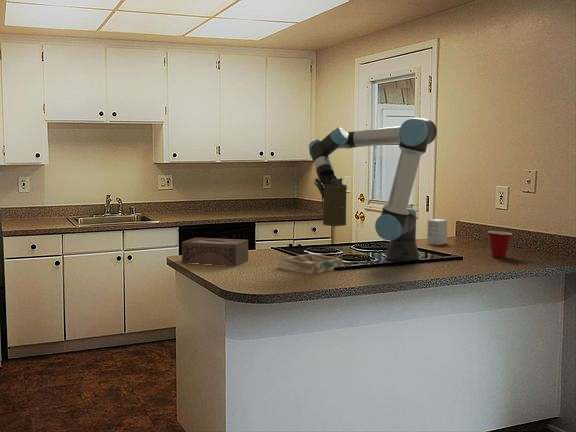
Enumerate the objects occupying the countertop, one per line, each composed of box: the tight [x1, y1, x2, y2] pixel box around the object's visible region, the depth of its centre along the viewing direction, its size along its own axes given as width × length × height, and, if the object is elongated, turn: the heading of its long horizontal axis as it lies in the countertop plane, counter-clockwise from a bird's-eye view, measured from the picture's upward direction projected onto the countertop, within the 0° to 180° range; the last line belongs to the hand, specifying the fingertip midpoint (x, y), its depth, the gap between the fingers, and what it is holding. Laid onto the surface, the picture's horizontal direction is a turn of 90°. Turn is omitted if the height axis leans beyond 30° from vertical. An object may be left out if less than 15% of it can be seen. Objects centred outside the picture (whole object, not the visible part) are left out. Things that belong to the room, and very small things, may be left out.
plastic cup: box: [487, 230, 513, 259], centre depth 324 cm, size 11×11×12 cm
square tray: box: [277, 253, 345, 275], centre depth 298 cm, size 20×20×4 cm
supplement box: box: [426, 218, 448, 246], centre depth 365 cm, size 7×7×13 cm
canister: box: [321, 178, 348, 227], centre depth 306 cm, size 11×10×20 cm
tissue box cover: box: [181, 237, 249, 267], centre depth 311 cm, size 26×14×10 cm, turn 72°
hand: (338, 209), depth 303 cm, fingers closed on canister, 2 cm apart
